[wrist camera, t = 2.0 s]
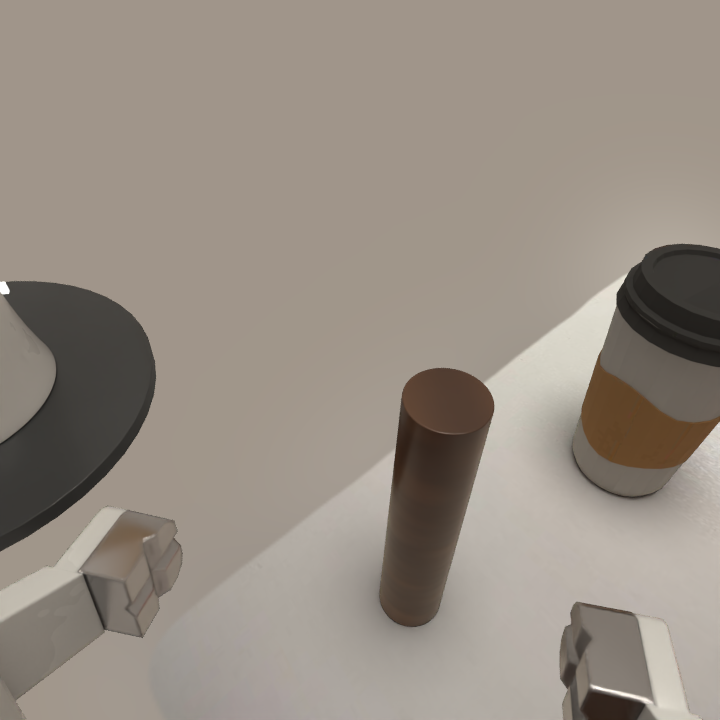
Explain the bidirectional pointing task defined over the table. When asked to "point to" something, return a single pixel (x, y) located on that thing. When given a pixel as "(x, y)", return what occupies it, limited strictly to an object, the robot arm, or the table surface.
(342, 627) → the table surface
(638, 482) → the coffee cup
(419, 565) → the brown cylinder
